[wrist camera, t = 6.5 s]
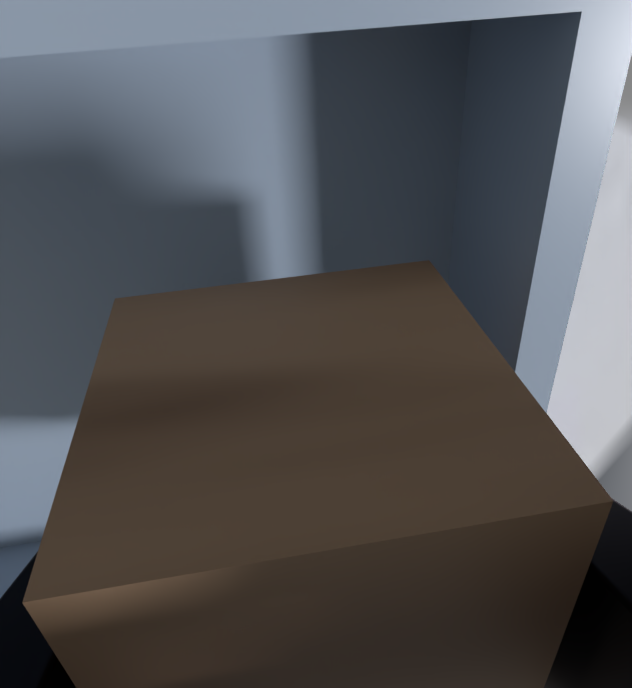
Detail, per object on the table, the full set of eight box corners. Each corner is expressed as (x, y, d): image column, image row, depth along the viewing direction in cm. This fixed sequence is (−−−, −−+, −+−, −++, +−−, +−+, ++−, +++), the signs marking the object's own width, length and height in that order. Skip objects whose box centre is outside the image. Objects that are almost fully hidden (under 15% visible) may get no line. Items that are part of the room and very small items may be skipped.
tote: (447, 477, 17) (502, 595, 14) (-151, 574, 16) (-248, 733, 12) (508, -58, 10) (663, -76, 6) (-654, 19, 8) (-1269, 50, 5)
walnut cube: (415, 473, 12) (524, 740, 8) (178, 511, 11) (159, 818, 7) (429, 260, 9) (613, 501, 5) (115, 298, 8) (21, 601, 4)
